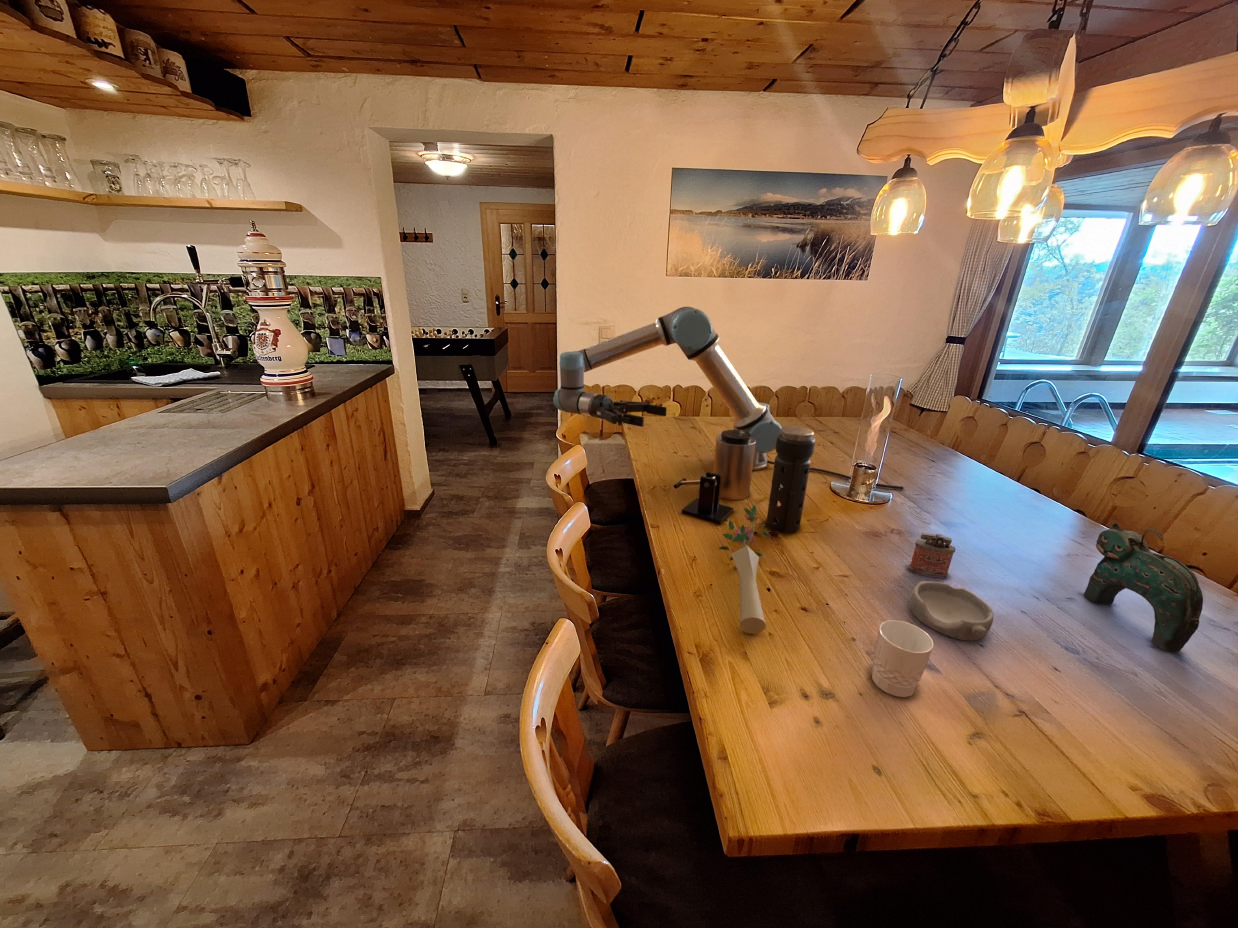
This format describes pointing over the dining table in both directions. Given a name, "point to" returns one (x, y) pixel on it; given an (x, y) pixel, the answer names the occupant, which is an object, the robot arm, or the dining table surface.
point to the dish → (951, 610)
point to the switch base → (709, 501)
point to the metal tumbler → (734, 463)
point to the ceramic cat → (1148, 584)
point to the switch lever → (689, 482)
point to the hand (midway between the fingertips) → (654, 416)
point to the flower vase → (747, 575)
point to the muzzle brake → (790, 478)
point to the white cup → (900, 657)
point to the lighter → (932, 556)
